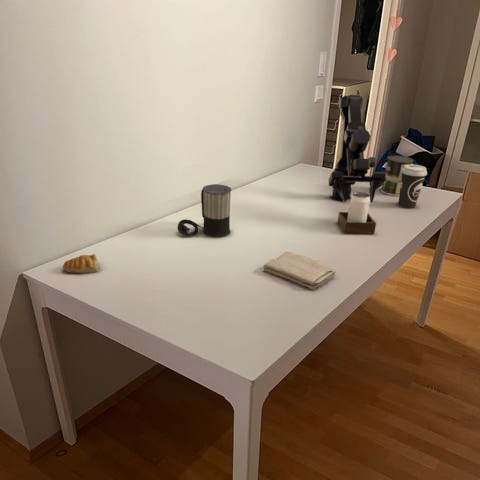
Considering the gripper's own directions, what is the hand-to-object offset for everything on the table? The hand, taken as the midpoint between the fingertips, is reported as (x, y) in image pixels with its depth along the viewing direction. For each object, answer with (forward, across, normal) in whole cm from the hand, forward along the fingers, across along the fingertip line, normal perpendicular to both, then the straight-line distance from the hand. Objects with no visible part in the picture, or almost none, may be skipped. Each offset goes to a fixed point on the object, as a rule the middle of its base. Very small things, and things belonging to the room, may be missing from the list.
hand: (358, 202), depth 161 cm
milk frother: (+12, -52, +1) cm, 54 cm away
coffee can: (-23, +27, +35) cm, 50 cm away
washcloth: (+33, -25, -19) cm, 46 cm away
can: (+8, 0, +6) cm, 9 cm away
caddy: (+7, 0, +5) cm, 9 cm away
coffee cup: (-11, +27, +23) cm, 37 cm away
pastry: (+32, -85, -18) cm, 93 cm away
